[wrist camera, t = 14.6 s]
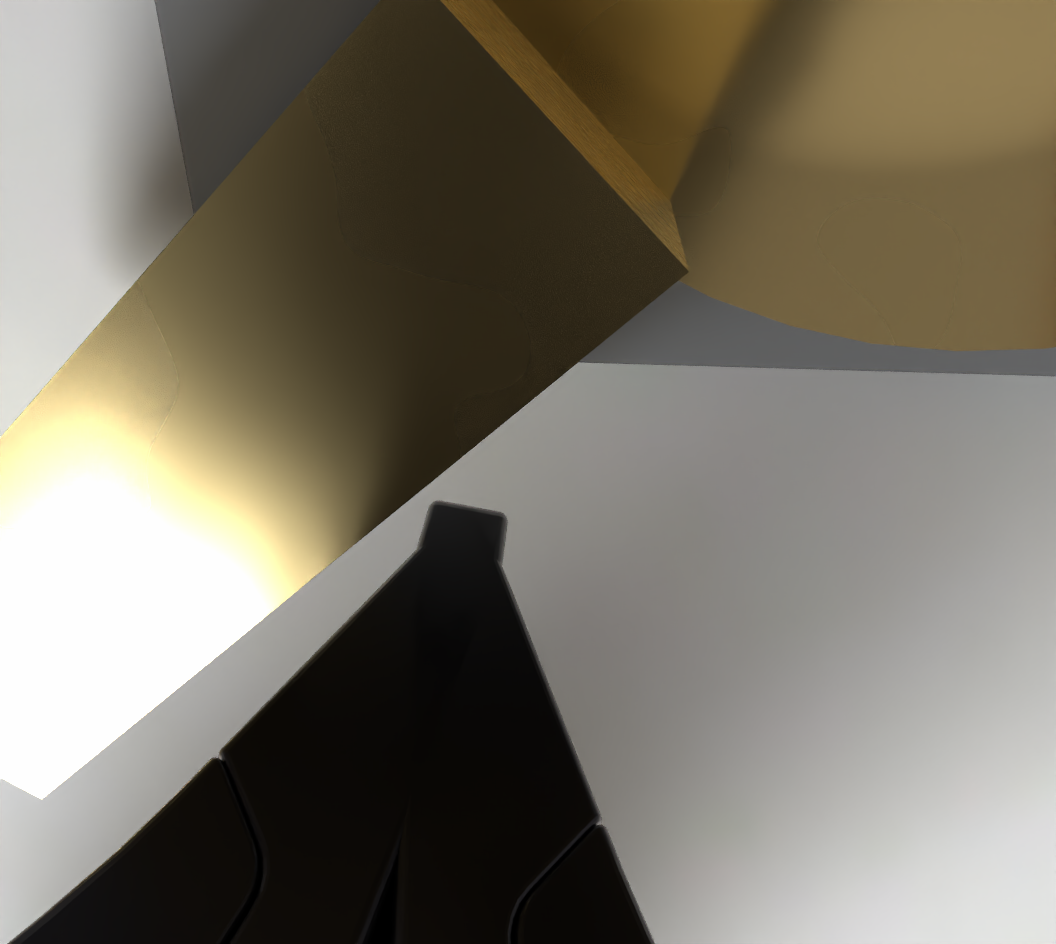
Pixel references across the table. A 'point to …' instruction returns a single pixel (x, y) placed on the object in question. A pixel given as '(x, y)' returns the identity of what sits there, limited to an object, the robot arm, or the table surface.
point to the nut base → (310, 41)
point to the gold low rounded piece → (491, 290)
